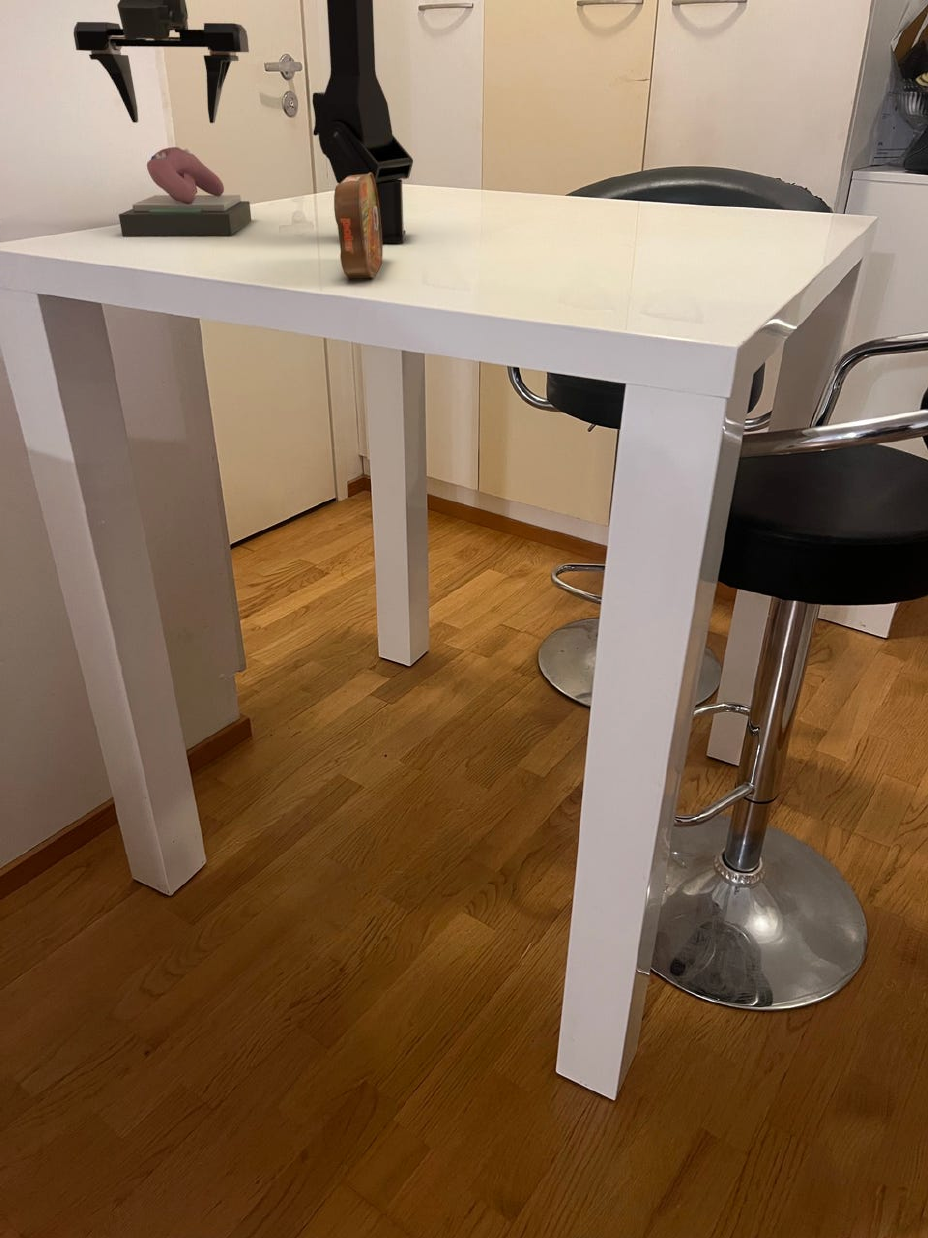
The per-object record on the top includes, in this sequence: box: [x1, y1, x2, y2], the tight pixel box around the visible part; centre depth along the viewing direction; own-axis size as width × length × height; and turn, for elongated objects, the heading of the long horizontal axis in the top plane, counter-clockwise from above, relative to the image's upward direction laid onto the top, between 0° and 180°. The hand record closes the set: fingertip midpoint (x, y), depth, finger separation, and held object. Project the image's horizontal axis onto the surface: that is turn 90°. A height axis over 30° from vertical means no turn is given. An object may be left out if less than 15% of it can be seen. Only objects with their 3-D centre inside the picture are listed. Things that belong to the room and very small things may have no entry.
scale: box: [118, 194, 252, 237], centre depth 116 cm, size 13×13×3 cm
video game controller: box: [146, 146, 225, 204], centre depth 115 cm, size 10×5×7 cm, turn 168°
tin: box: [333, 172, 384, 279], centre depth 89 cm, size 15×3×8 cm, turn 179°
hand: (173, 122), depth 113 cm, fingers open, 9 cm apart
